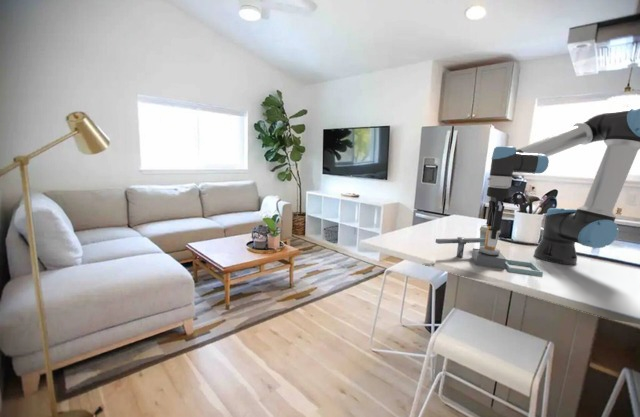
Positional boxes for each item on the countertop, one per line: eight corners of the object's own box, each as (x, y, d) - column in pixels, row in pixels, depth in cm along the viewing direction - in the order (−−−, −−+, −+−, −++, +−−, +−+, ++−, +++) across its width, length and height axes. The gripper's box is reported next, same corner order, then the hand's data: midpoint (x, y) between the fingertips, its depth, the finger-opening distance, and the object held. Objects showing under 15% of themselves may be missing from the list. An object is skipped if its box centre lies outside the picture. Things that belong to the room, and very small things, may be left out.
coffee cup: (500, 255, 136) (504, 230, 134) (479, 253, 137) (483, 228, 135) (493, 250, 144) (497, 225, 142) (474, 248, 146) (477, 224, 144)
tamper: (495, 261, 124) (501, 226, 121) (499, 267, 117) (505, 230, 115) (476, 258, 126) (481, 224, 124) (478, 264, 120) (484, 227, 117)
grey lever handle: (479, 255, 133) (482, 236, 131) (485, 258, 129) (488, 238, 128) (432, 258, 127) (434, 237, 125) (437, 260, 123) (440, 240, 122)
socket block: (497, 262, 126) (499, 251, 125) (504, 271, 116) (506, 259, 115) (452, 256, 131) (453, 245, 130) (455, 264, 121) (456, 252, 120)
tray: (531, 268, 121) (532, 262, 120) (541, 278, 111) (543, 272, 110) (500, 264, 124) (501, 258, 124) (508, 273, 114) (509, 267, 113)
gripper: (483, 184, 126) (475, 238, 130) (493, 188, 110) (484, 249, 114) (504, 186, 123) (495, 240, 127) (516, 189, 108) (506, 252, 112)
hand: (490, 244), depth 121 cm, fingers closed on tamper, 4 cm apart
